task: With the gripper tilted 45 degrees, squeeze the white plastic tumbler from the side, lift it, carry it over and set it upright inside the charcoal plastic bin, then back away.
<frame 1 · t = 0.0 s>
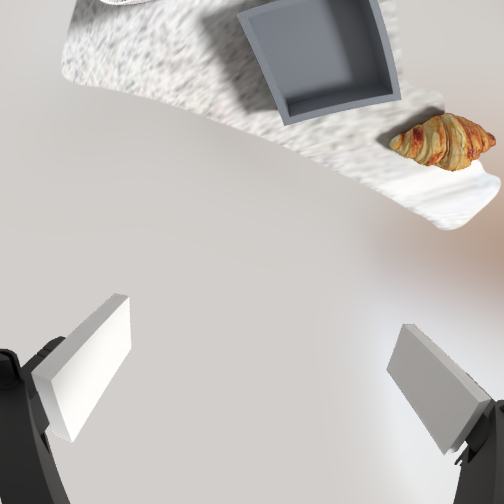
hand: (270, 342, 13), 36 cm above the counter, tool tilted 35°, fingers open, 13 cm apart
croissant: (441, 133, 38), on the counter
bin: (319, 46, 31), on the counter
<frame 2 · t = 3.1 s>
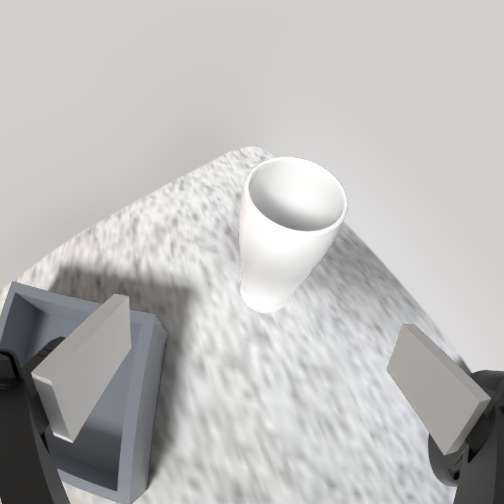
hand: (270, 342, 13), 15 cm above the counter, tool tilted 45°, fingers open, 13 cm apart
white plastic tumbler: (264, 291, 31), on the counter
bin: (80, 393, 22), on the counter
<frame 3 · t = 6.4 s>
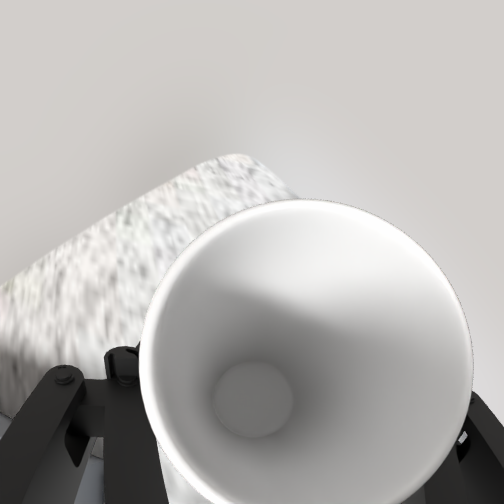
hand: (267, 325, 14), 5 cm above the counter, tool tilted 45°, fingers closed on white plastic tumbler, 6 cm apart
white plastic tumbler: (250, 401, 17), on the counter, touching gripper
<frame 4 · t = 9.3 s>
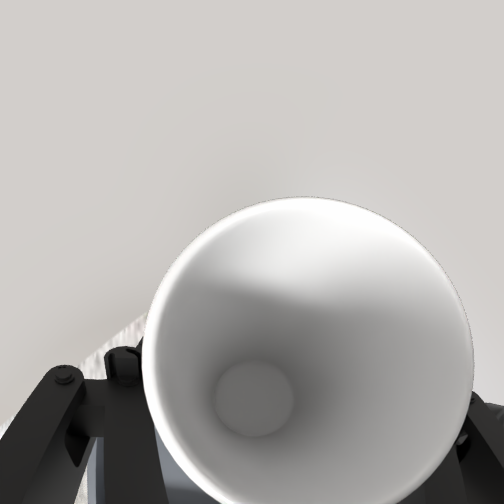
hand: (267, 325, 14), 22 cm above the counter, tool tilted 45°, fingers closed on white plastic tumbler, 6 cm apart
white plastic tumbler: (251, 400, 17), point 16 cm above the counter, touching gripper
bin: (170, 463, 27), on the counter
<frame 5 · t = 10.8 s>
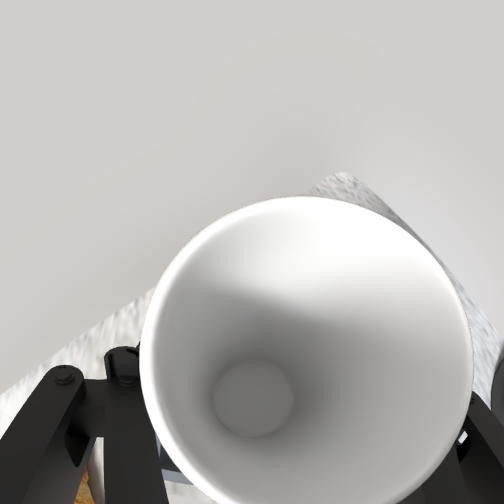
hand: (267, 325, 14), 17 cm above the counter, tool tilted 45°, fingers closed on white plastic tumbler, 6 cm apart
white plastic tumbler: (250, 400, 17), point 12 cm above the counter, touching gripper
croissant: (66, 498, 18), on the counter
bin: (244, 406, 27), on the counter
when the fingers open (8 cm above the counter, at t = 12.7 s): white plastic tumbler drops 1 cm, resting on bin.
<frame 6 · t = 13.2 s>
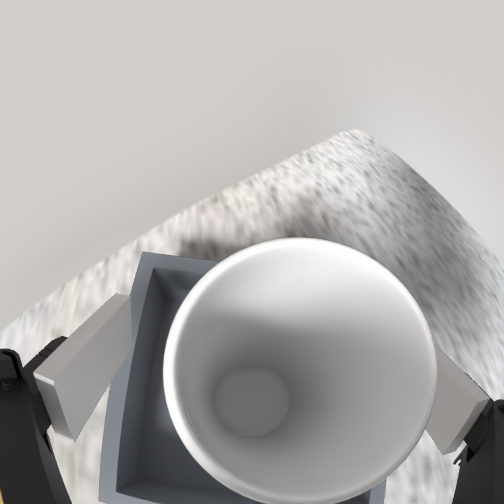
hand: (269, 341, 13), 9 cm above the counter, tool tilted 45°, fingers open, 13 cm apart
white plastic tumbler: (249, 402, 19), point 1 cm above the counter, touching bin
bin: (247, 402, 19), on the counter
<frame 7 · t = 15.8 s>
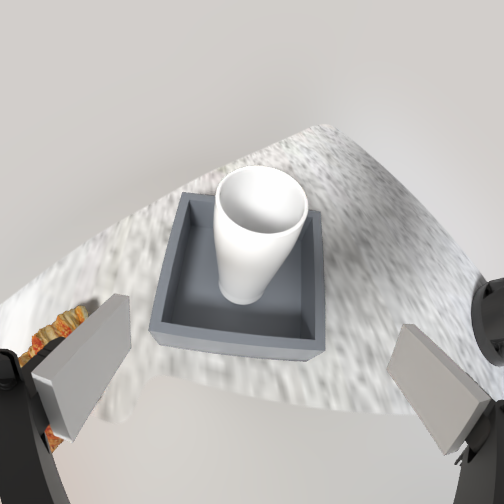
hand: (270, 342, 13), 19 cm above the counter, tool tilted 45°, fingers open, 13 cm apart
white plastic tumbler: (241, 285, 33), point 1 cm above the counter, touching bin
croissant: (58, 391, 25), on the counter
bin: (240, 287, 34), on the counter
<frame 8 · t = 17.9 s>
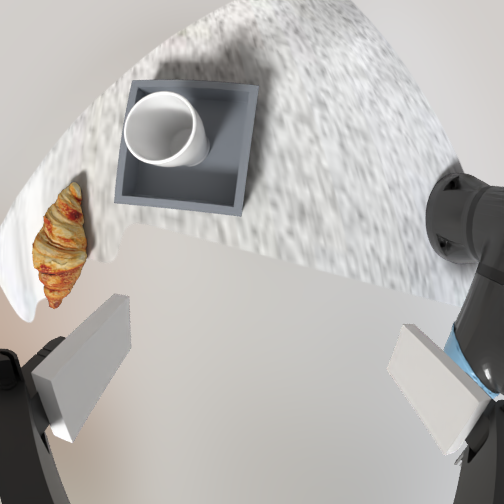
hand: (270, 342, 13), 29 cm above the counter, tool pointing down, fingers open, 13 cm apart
white plastic tumbler: (191, 147, 37), point 1 cm above the counter, touching bin
croissant: (69, 245, 41), on the counter
bin: (191, 148, 38), on the counter
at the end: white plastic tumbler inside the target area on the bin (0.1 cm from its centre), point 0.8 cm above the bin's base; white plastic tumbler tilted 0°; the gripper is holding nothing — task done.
